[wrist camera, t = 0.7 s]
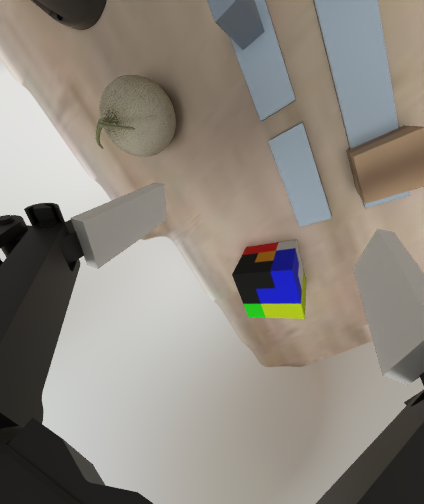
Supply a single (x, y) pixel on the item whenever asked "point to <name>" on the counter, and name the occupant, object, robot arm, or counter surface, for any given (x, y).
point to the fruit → (137, 116)
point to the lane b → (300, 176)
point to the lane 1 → (256, 52)
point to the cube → (389, 164)
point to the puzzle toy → (272, 280)
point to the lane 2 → (359, 70)
